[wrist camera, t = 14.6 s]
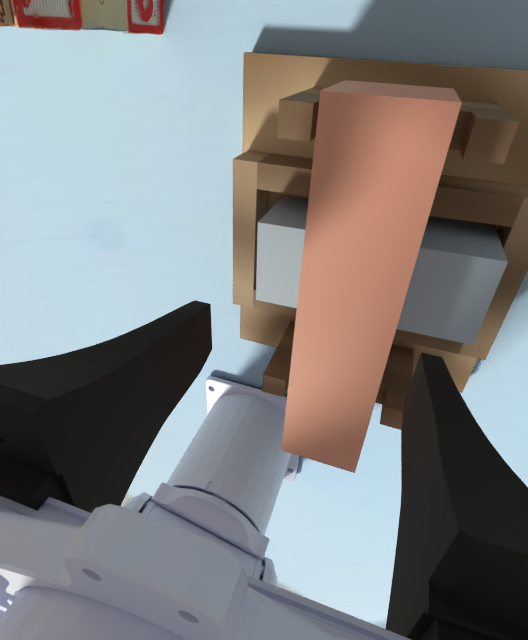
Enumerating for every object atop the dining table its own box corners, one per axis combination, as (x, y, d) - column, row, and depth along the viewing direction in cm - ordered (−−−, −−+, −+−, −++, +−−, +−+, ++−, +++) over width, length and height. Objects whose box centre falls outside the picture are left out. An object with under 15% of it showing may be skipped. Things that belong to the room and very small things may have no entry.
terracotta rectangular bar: (365, 410, 22) (354, 472, 18) (302, 393, 22) (281, 450, 19) (453, 88, 13) (461, 102, 10) (345, 79, 14) (320, 90, 11)
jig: (460, 381, 24) (468, 464, 20) (245, 329, 28) (206, 390, 23) (598, 74, 15) (677, 88, 10) (251, 52, 19) (189, 54, 14)
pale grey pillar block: (466, 299, 21) (472, 344, 17) (279, 265, 23) (255, 299, 20) (494, 224, 18) (507, 261, 15) (283, 195, 21) (257, 222, 18)
